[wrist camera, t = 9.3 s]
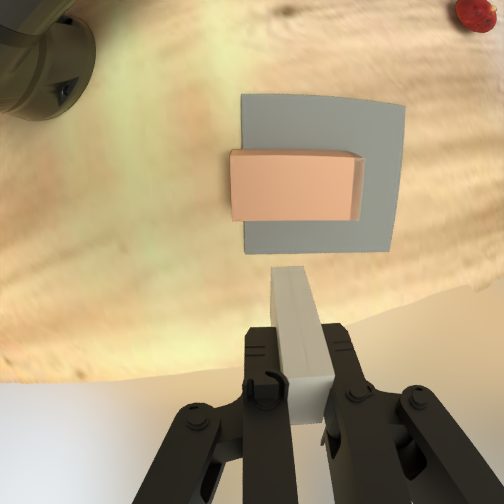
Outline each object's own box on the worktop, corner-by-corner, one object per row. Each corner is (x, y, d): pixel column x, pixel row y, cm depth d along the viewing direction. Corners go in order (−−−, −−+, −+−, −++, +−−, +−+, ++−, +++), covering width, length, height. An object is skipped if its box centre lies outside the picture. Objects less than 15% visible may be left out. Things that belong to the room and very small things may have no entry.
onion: (474, 41, 26) (509, 38, 19) (444, 23, 26) (478, 14, 19) (476, 12, 24) (509, 4, 17) (446, -8, 23) (478, -20, 16)
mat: (241, 94, 32) (241, 94, 31) (403, 105, 32) (405, 106, 31) (245, 252, 41) (245, 254, 40) (387, 250, 41) (389, 251, 40)
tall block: (229, 156, 30) (365, 158, 30) (232, 149, 34) (350, 151, 34) (232, 221, 33) (359, 220, 33) (234, 206, 37) (346, 206, 37)
